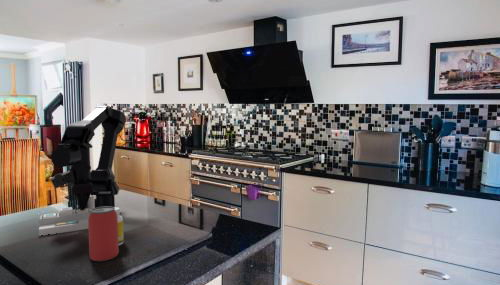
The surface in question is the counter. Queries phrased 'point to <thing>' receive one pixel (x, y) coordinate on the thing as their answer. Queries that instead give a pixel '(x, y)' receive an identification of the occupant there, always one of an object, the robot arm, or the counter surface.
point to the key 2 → (82, 211)
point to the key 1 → (49, 215)
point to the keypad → (63, 223)
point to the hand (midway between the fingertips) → (82, 210)
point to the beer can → (103, 233)
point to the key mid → (66, 211)
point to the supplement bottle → (120, 227)
